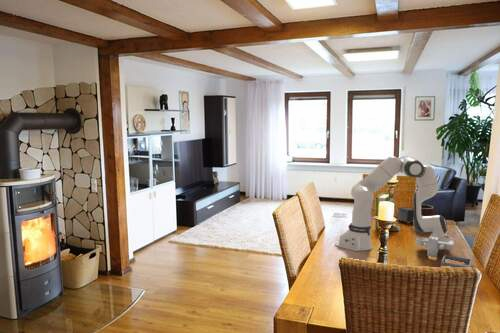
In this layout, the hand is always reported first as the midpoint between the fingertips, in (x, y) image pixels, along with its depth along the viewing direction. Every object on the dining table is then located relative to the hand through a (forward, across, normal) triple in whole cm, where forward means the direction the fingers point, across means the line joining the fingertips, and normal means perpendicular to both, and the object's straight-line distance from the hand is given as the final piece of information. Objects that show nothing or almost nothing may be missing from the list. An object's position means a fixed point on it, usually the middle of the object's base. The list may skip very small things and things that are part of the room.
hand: (432, 246), depth 224 cm
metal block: (-1, 0, +7) cm, 7 cm away
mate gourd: (-61, -16, +7) cm, 63 cm away
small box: (-79, -31, +7) cm, 85 cm away
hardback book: (-54, -41, +7) cm, 68 cm away
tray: (+6, +13, +7) cm, 16 cm away
